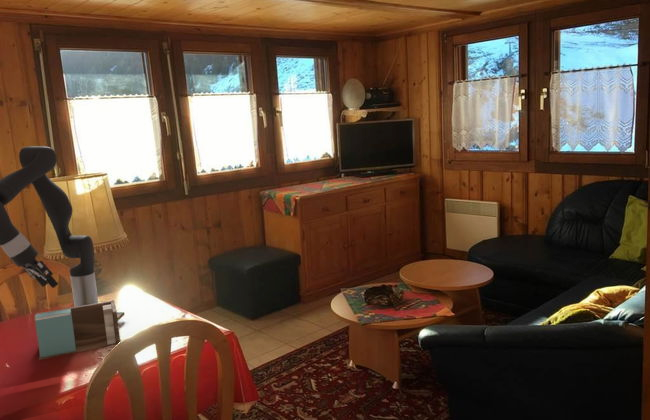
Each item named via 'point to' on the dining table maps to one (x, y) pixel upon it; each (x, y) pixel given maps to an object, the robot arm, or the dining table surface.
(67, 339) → the rectangular block
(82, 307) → the open wooden box
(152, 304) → the dining table surface
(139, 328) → the dining table surface
